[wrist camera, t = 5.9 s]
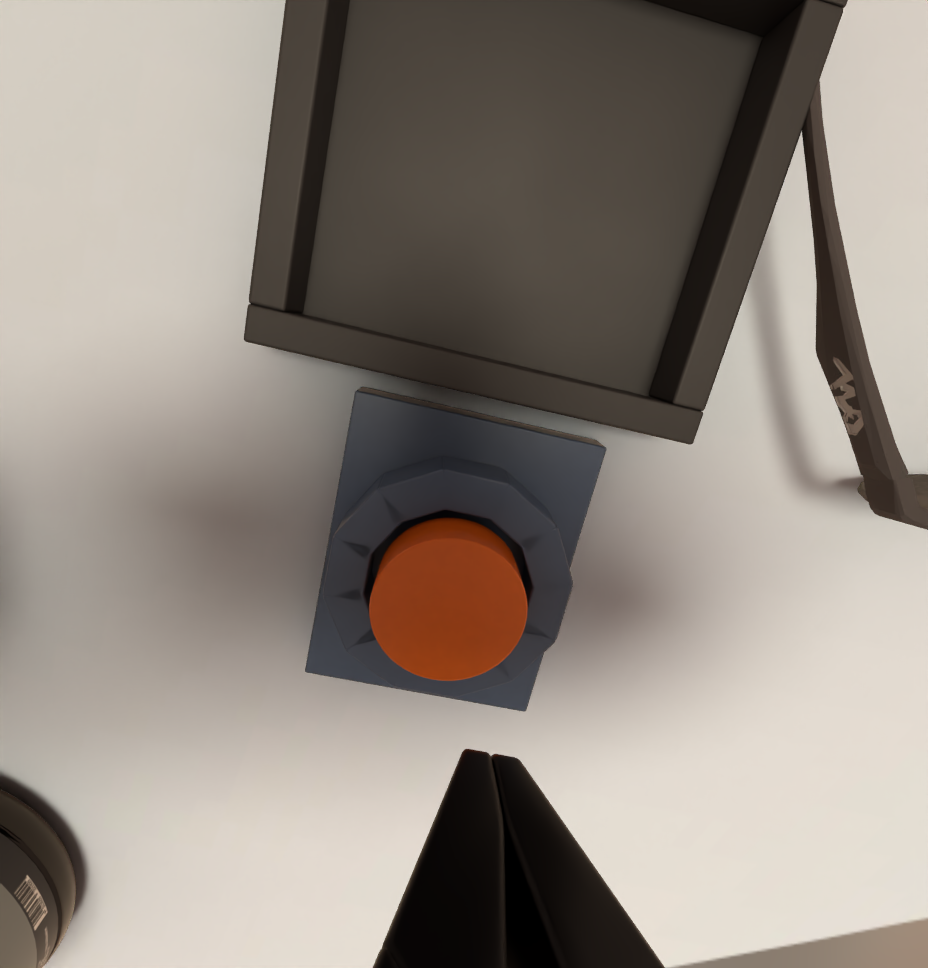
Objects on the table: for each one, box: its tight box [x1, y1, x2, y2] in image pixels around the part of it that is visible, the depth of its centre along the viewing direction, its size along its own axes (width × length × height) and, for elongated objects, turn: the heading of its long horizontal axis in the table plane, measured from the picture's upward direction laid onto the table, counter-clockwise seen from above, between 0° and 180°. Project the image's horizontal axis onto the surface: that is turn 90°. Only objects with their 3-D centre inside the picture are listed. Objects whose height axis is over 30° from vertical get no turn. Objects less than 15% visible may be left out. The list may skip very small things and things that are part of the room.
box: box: [305, 387, 606, 711], centre depth 18 cm, size 10×8×3 cm
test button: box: [369, 517, 528, 681], centre depth 16 cm, size 4×4×2 cm
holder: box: [244, 0, 848, 444], centre depth 15 cm, size 12×13×2 cm
